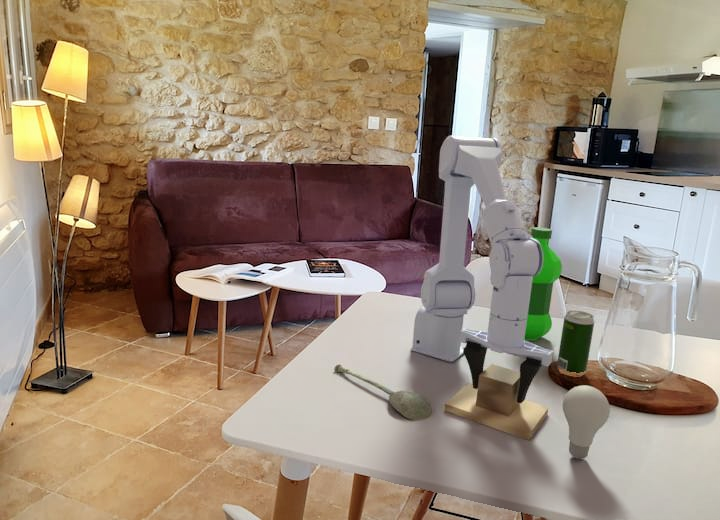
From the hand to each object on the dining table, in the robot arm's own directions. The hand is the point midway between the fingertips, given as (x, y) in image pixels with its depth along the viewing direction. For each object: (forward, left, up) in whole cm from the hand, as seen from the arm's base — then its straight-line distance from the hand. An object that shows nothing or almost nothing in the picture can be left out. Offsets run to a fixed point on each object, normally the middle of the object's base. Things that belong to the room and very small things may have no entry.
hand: (498, 393), depth 89 cm
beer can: (+6, +25, -4) cm, 26 cm away
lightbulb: (+14, -5, -4) cm, 15 cm away
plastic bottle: (-7, +39, -4) cm, 40 cm away
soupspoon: (-19, -7, -4) cm, 20 cm away
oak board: (0, 0, -3) cm, 3 cm away
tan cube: (0, 0, -2) cm, 2 cm away
